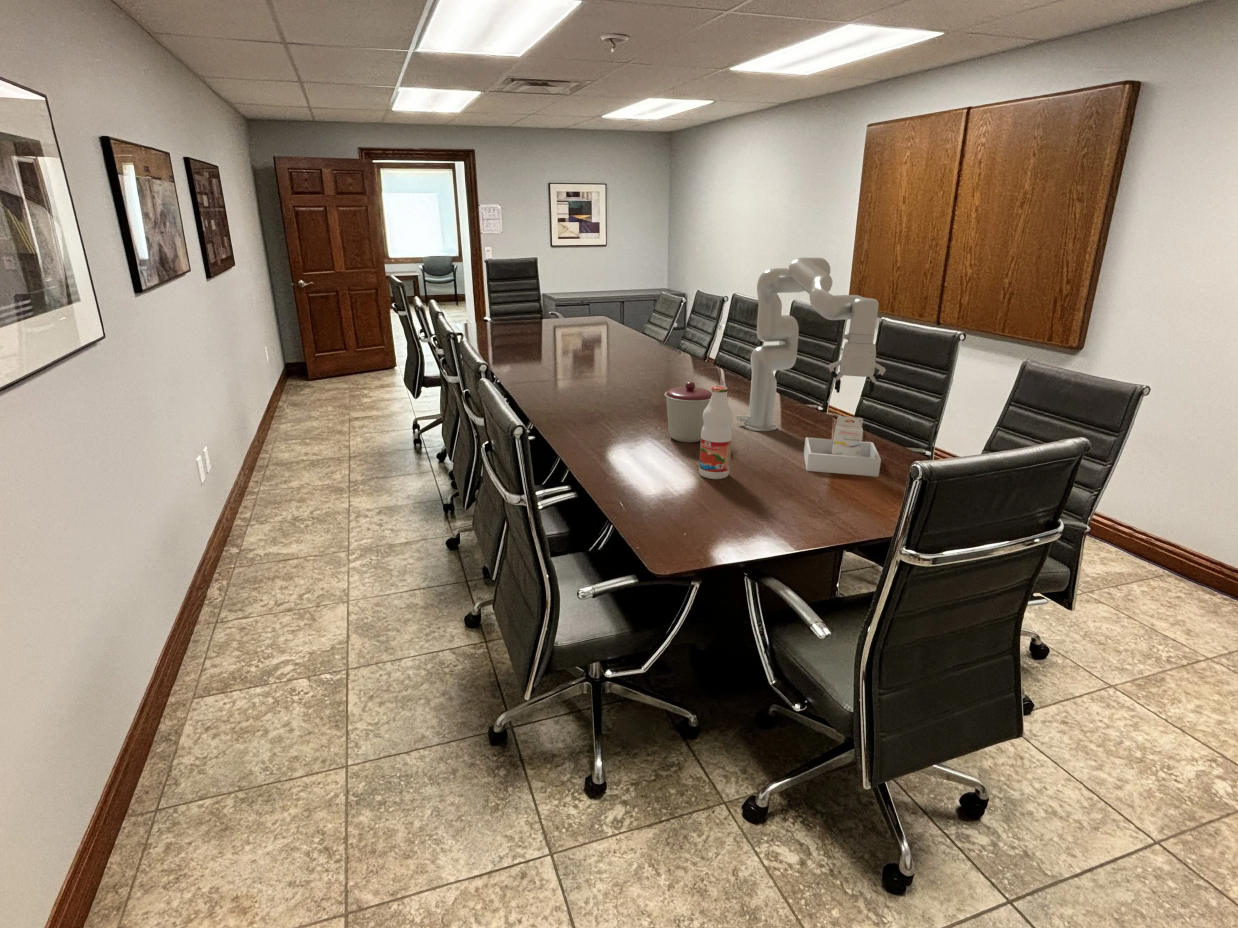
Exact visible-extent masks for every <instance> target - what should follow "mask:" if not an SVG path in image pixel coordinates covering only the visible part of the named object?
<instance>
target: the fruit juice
mask: <svg viewBox="0 0 1238 928" xmlns="http://www.w3.org/2000/svg"><path fill="white" fill-rule="evenodd" d="M710 389H711V390H710V392H711V393H712V396H711V399H710V401H709V403H708V405H707V407H706V408H705V410H704V412H703V421H704V425H703V427H702V431H701V441H700V445H699V462H698V464H699V465H698V474H699V476H701V477H703V478H706V479H709V480H711V479H712V480H722V479H723V480H724V479H725V478H728V476H729V473H730V464H731V454H732V453H731V452H732V438H733V437H732V436H733V430H732V427H731V426H732V425H731V424H732V422H733V419H734V418H733V417H734V414H733V411H732V409H731V407H730V405H729V401H728V397H727V394H728V392H729V388H728V387H727V386H725V385H713V386H711V388H710Z"/></svg>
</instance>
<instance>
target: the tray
mask: <svg viewBox="0 0 1238 928" xmlns="http://www.w3.org/2000/svg"><path fill="white" fill-rule="evenodd" d="M804 438H805V440H804V446H803V447H804V448H803V457H804V463H805V469H806V471H807V472H817V473H820V472H821V473H830V474H844V475H855V476H866V477H879V475H880V468H881V464H882V463H881V462H882V458H881V456H880V454H879V452H878V450H877V448H876V446H875V444H874V442H872V441H862V443H861V449H860V456H859V457H856V456H843V455H832V448H833V441H834V438H832V439H831V438H819V437H818V438H817V437H807V436H805V437H804Z"/></svg>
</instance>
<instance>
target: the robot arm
mask: <svg viewBox="0 0 1238 928" xmlns="http://www.w3.org/2000/svg"><path fill="white" fill-rule="evenodd" d="M832 286H833V278H832V276H831V266H830V264H829V261H827V259H825V258H823V257H799V258H796V259H794V260H793V261H791V262H790V264H789V266H788V267H781V268H780V267H779V268H778V267H776V268H769V269H767V270H765V271H763V272H762V273H761V274H760V276H758V281H757V285H756V292H757V293H756V294H757V301H758V307H757V308H758V309H757V317H756V318H757V321H756V324H757V325H756V336H757V338H758V340H759V341H761V342H766V343H769V342H770V343H771V342H772V343H774V342H776V343H777V342H778V344H768V345H767V344H766V345H760V346H757V347H755V348H754V349H753V350H752V352H751V353H750V367H751V381H750V382H751V383H750V394H749V406H748V407H749V408H748V413H747V414H744V415H740V414H739V415H738V414H737V415H736V421H739V422H744V423H743V427H744V428H745V429H747V430H751V431H755V432H772V431H775V430H777V428H778V426H777V423H775V422H774V418H775V417H774V415H775V407H776V406H775V405H776V398H777V383H778V382H777V379H776V376H775V374H774V371H785V370H789V369H790V370H791V369H792V368H793V367H794V366H795V364H796V361H797V355H798V344H799V334H800V333H799V332H800V331H799V328H800V327H799V324H798V320H797V319H796V318H795V317H794V316H792V315H789V314H782V309H783V303H782V300H781V298H780V295H779V294H780V293H781V294H782V293H783V294H784V293H786V294H790V293H802V292H806V293H807V294H808V295H809V302H810V306H811V307H812V309H813V310H814V311H815V312H816V313H817V314H819V316H821V317H823V318H824V319H826V320H830V321H840V320H841V321H842V320H850V322H849V330H848V333H846V334H843V340H847V341H846V342H845V343H844V346H843V350H842V353H841V358H840V360H838V361H834V362H833V363H830V364H828V366H827V367H828V369H829V372H830V374H831V376H832V377H833V378H834V379H835V381H834V390H835V391H836V392H835V393H836V394H840V390H841V383H842V380H841V378H843V377H844V376H848V377H861V378H862V377H863V378H865V377H866V378H869V379H870V380H868V386H867V391H866V392H867V394H868V395H869V396H871V395H872V393H873V392H875V391H874V390H875V389H874V388H875V383H877V381H878V380H879V379H881V378H882V377H883V376H884V374H885V372H886V370H887V369H886V368H885V367H883V366H882V365H881V364H878V363H877V362H876V358H877V357H876V356H877V349H876V348H877V346H876V344H875V343H874V338H875V333H876V326H877V318H878V314H879V313H878V311H879V301H878V300H877V299H875V298H871V297H870V298H869V297H863V296H861V295H857V294H840V295H839V294H838V295H837V294H836V295H833V294H831V293H830V291H831V289H832ZM838 366H839V372H838V373H837V372H836V371H835V370H834V369H835V368H837V367H838ZM875 369H876V370H878V373H877V374H875ZM874 374H875V375H874Z"/></svg>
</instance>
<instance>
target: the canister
mask: <svg viewBox="0 0 1238 928" xmlns="http://www.w3.org/2000/svg"><path fill="white" fill-rule="evenodd" d="M711 396H712V392H711V390H708V389H707V388H701V387H696V384H695V383H694V381H687V382H686V383H685V385H684V386H679V387H678V386H677V387H674V388H670V389H669V390H667V391H665V393H664V397H665V400H666V413H667V414H666V415H667V426H668V433H669V436H670V438H672V439H673V440H675V441H678V442H681V443H697V442H701V431H702V427H703V425H704V421H703V412H704V410H705V408H706V407H707V405H708V403H709V401H710V399H711Z"/></svg>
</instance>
